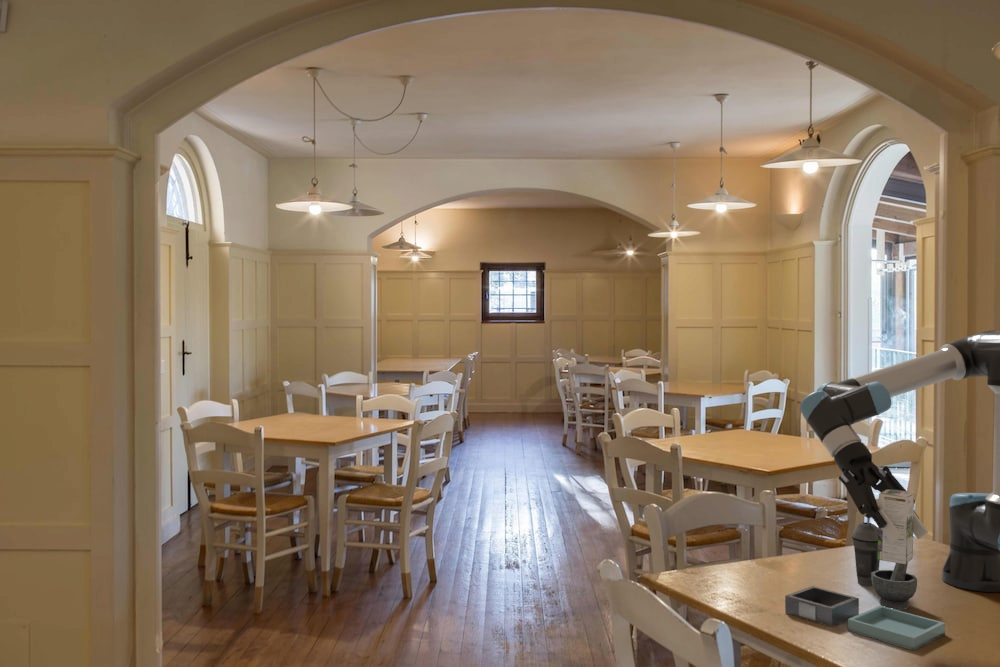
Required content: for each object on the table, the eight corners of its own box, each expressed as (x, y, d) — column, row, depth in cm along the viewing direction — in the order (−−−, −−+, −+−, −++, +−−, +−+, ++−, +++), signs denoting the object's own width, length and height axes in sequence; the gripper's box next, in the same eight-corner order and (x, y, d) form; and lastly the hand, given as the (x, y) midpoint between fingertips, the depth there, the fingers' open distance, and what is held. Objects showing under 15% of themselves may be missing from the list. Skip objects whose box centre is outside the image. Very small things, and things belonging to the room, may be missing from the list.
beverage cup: (877, 579, 212) (877, 502, 212) (887, 588, 205) (887, 508, 205) (848, 579, 213) (847, 502, 213) (857, 587, 206) (857, 508, 206)
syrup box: (884, 554, 179) (884, 488, 179) (914, 559, 175) (914, 491, 175) (877, 560, 175) (877, 492, 175) (907, 565, 171) (907, 496, 171)
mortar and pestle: (903, 614, 186) (903, 562, 186) (863, 604, 193) (863, 553, 193) (926, 604, 193) (926, 553, 193) (887, 594, 200) (887, 545, 200)
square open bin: (813, 602, 195) (813, 585, 195) (859, 615, 186) (859, 597, 186) (784, 613, 187) (784, 595, 187) (830, 627, 178) (830, 609, 178)
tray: (880, 616, 185) (880, 605, 185) (945, 634, 174) (945, 622, 174) (847, 630, 176) (848, 619, 176) (913, 650, 165) (913, 638, 165)
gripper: (869, 457, 193) (931, 541, 179) (805, 463, 185) (864, 552, 170) (889, 437, 188) (954, 522, 174) (824, 443, 180) (886, 532, 165)
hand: (909, 537), depth 172 cm, fingers closed on syrup box, 7 cm apart
